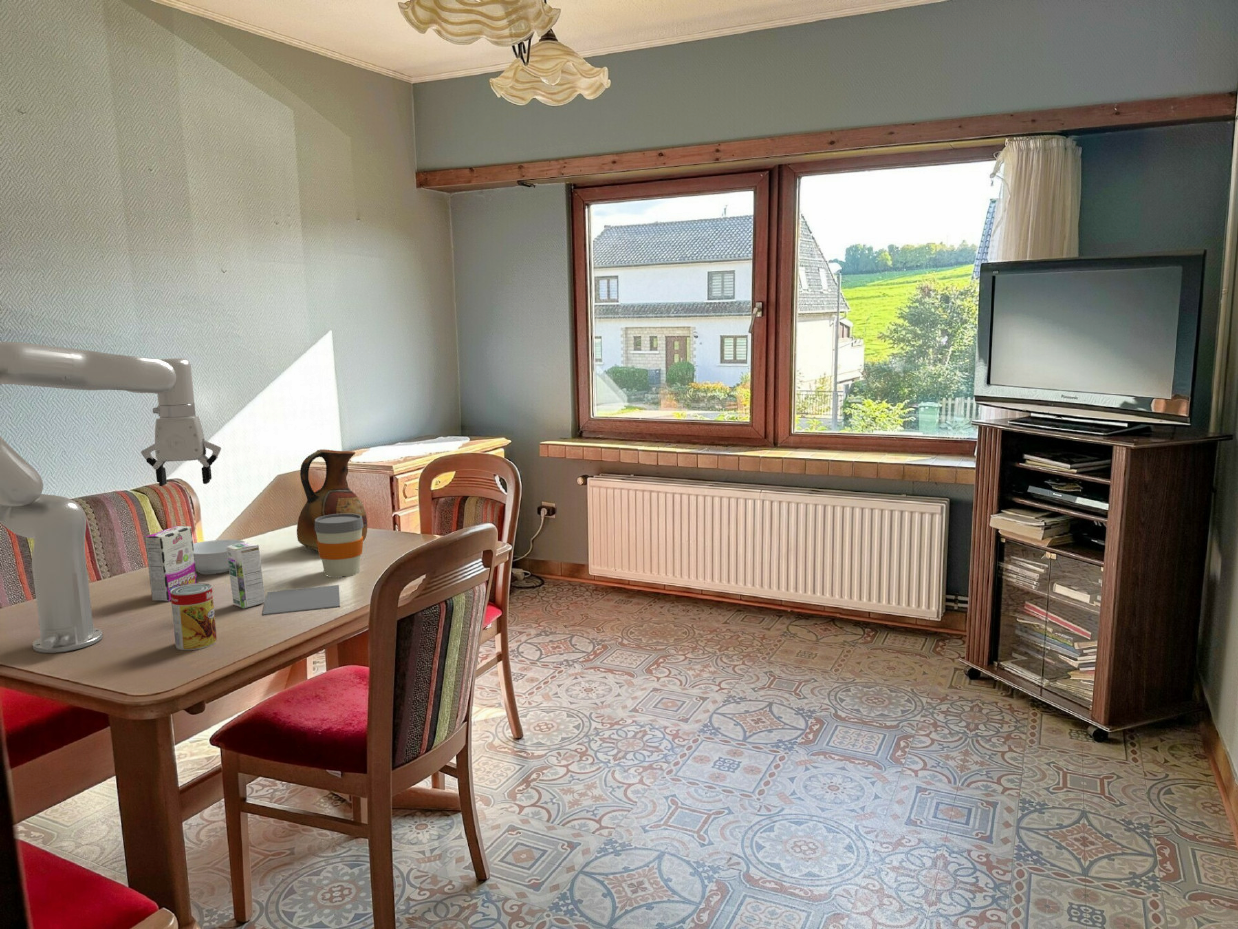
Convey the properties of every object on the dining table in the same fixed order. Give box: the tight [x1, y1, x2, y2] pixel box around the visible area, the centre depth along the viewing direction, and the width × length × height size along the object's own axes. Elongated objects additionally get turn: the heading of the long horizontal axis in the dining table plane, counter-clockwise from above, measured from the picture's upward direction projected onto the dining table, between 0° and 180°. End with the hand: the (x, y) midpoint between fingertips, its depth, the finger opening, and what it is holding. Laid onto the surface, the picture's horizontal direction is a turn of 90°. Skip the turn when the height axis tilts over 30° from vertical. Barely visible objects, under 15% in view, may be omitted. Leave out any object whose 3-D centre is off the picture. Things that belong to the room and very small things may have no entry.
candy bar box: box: [144, 525, 198, 602], centre depth 219 cm, size 11×5×16 cm, turn 168°
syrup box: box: [227, 541, 266, 609], centre depth 210 cm, size 6×6×14 cm
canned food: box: [170, 582, 218, 651], centre depth 185 cm, size 8×8×12 cm
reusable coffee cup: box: [315, 513, 364, 578], centre depth 237 cm, size 13×12×15 cm
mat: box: [262, 584, 341, 616], centre depth 214 cm, size 18×17×1 cm
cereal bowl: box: [193, 539, 245, 575], centre depth 242 cm, size 17×17×7 cm
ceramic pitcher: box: [296, 448, 368, 551], centre depth 262 cm, size 20×20×30 cm
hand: (184, 484), depth 208 cm, fingers open, 9 cm apart
